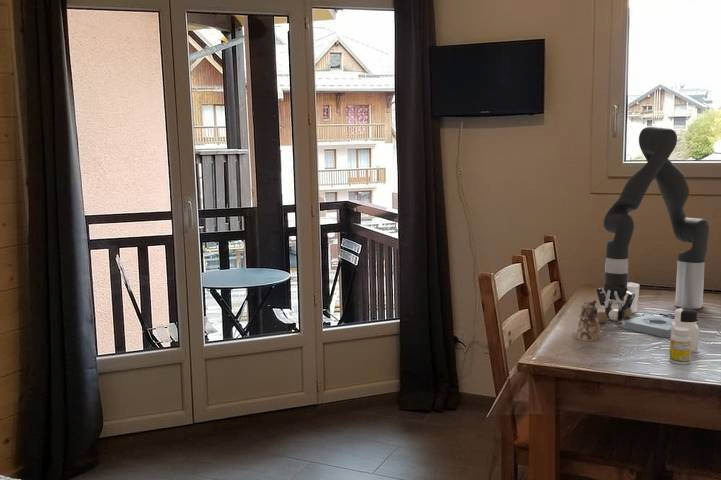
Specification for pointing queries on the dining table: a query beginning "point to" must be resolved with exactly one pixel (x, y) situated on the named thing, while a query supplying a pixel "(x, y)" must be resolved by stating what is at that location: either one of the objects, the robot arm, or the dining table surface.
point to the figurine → (588, 323)
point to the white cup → (634, 289)
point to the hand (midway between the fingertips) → (614, 319)
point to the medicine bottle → (687, 325)
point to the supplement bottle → (680, 346)
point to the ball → (613, 315)
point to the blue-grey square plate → (650, 325)
